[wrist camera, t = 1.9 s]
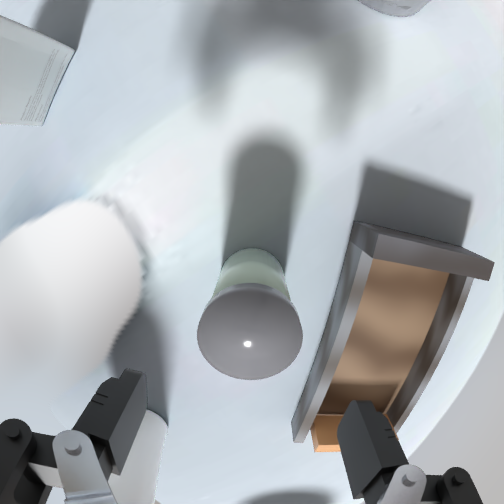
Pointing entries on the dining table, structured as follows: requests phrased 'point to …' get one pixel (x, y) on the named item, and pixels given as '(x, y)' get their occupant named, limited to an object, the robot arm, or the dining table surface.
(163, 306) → the dining table surface
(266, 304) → the jar
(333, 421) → the plate
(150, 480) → the drinking glass
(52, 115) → the dining table surface
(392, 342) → the grey wooden tray
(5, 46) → the skincare box
